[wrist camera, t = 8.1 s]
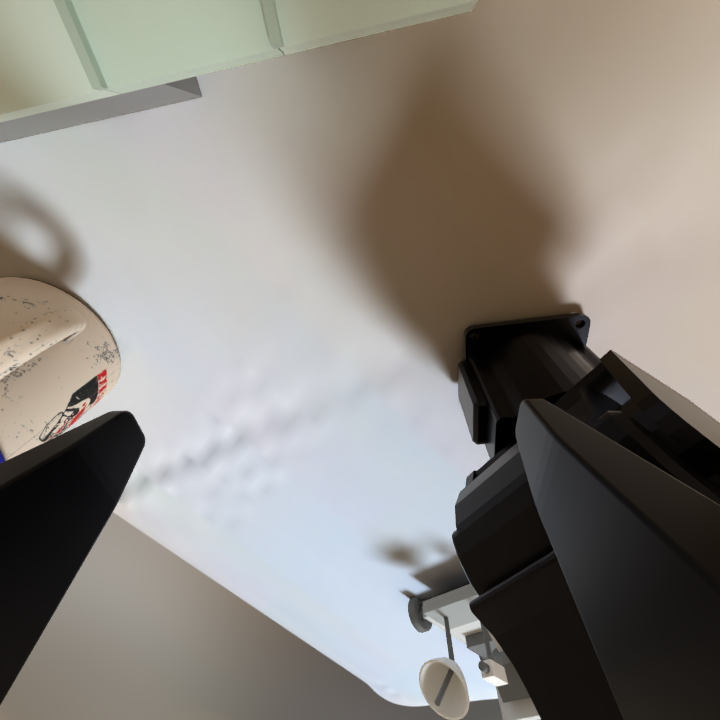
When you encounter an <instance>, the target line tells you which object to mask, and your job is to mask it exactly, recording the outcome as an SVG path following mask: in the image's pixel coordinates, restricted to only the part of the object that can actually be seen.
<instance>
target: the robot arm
mask: <svg viewBox="0 0 720 720" xmlns="http://www.w3.org/2000/svg"><path fill="white" fill-rule="evenodd" d="M579 320H582V321H581V323H580V324H579V325H575V324H576V322H578V321H579ZM589 328H590V319H589V317H587V316H586V315H585V314H583V313H572V314H564V315H556V316H547V317H539V318H531V319H522V320H514V321H506V322H497V323H489V324H481V325H473V326H469V327H468V328H467V329H466V330H465V332H464V361H461V362H460V363H459V364H458V393H459V400H460V403H461V406H462V409H463V412H464V416H465V419H466V422H467V425H468V428H469V431H470V434H471V437H472V441H473V442H475V443H476V444H485V446H486V448H487V451H488V454H489V457H490V460H489V461H488V462H487V463H486V464H484V465H483V466H482V467H481V468H480V469H479V470H478V471H473V472H472V473H471V474H470V475H469V476H468V477H467V479H466V487H465V488H464V489H463V490H462V491H461V492H460V494H459V496H458V499H457V502H456V505H455V514H456V528H457V530H456V531H454V532H453V534H452V539H453V543H454V546H455V550H456V553H457V556H458V559H459V562H460V564H461V566H462V568H463V570H464V572H465V574H466V576H467V578H468V580H469V582H470V584H471V586H472V587H473V589H474V590H475V592H476V593H477V595H478V597H476V598H475V599H473V600H471V601H470V603H469V606H470V610H471V612H472V613H473V614H474V615H475V616H476V618H477V619H478V620H479V621H480V622H481V623H482V624H483V625H484V626H485V628H486V629H487V630H488V631H489V632H490V633H491V634H492V635H493V636H494V638H495V639H496V641H497V642H498V644H499V645H500V646H501V648H502V649H503V651H504V652H505V654H506V655H507V657H508V658H509V660H510V661H511V663H512V664H513V666H514V667H515V669H516V671H517V673H518V675H519V677H520V679H521V680H522V682H523V684H524V686H525V688H526V690H527V692H528V694H529V696H530V698H531V700H532V702H533V704H534V706H535V708H536V710H537V712H538V714H539V716H540V718H541V720H720V423H719V422H718V421H716V420H715V419H714V418H712V417H711V416H710V415H708V414H707V413H706V412H704V411H703V410H702V409H700V408H699V407H698V406H696V405H695V404H694V403H692V402H691V401H690V400H688V399H687V398H685V397H684V396H682V395H681V394H679V393H677V392H676V391H674V390H673V389H671V388H670V387H668V386H667V385H665V384H663V383H662V382H660V381H659V380H657V379H656V378H654V377H653V376H651V375H649V374H648V373H646V372H645V371H643V370H642V369H640V368H639V367H637V366H636V365H634V364H632V363H631V362H629V361H628V360H626V359H625V358H623V357H622V356H620V355H618V354H617V353H615V352H614V351H612V350H610V351H609V352H608V353H606V354H605V355H604V356H603V357H602V358H601V359H600V358H599V357H598V356H596V355H595V354H594V353H593V352H592V351H591V350H590V349H589V348H588V347H587V346H586V343H587V338H588V333H589ZM474 332H475V333H477V335H476V336H475V337H470V335H471V334H472V333H474ZM144 446H145V436H144V434H143V432H142V430H141V428H140V427H139V425H138V423H137V421H136V419H135V417H134V416H133V414H132V413H130V412H128V411H112V412H108V413H106V414H104V415H102V416H100V417H97V418H95V419H93V420H91V421H89V422H87V423H85V424H83V425H81V426H78V427H76V428H74V429H72V430H70V431H68V432H66V433H64V434H62V435H59V436H57V437H55V438H53V439H51V440H49V441H47V442H45V443H43V444H40V445H38V446H36V447H34V448H32V449H30V450H28V451H26V452H24V453H21V454H19V455H17V456H15V457H13V458H11V459H9V460H7V461H5V462H3V463H0V705H1V703H2V701H3V700H4V698H5V696H6V695H7V693H8V691H9V689H10V688H11V686H12V684H13V682H14V681H15V679H16V677H17V676H18V674H19V672H20V670H21V669H22V667H23V665H24V664H25V662H26V660H27V658H28V657H29V655H30V653H31V651H32V650H33V648H34V646H35V645H36V643H37V641H38V640H39V638H40V636H41V634H42V632H43V631H44V629H45V628H46V626H47V624H48V622H49V621H50V619H51V617H52V616H53V614H54V612H55V610H56V609H57V607H58V605H59V603H60V602H61V600H62V598H63V597H64V595H65V593H66V591H67V590H68V588H69V586H70V585H71V583H72V581H73V579H74V578H75V576H76V574H77V573H78V571H79V569H80V567H81V566H82V564H83V562H84V561H85V559H86V557H87V555H88V554H89V552H90V550H91V549H92V547H93V545H94V543H95V542H96V540H97V538H98V537H99V535H100V533H101V531H102V530H103V528H104V526H105V525H106V523H107V521H108V519H109V518H110V516H111V514H112V512H113V511H114V509H115V507H116V505H117V503H118V501H119V499H120V497H121V495H122V493H123V491H124V489H125V486H126V484H127V482H128V480H129V478H130V476H131V474H132V472H133V469H134V467H135V465H136V463H137V461H138V459H139V457H140V454H141V452H142V450H143V448H144Z"/></svg>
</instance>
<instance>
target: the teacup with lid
mask: <svg viewBox="0 0 720 720" xmlns="http://www.w3.org/2000/svg"><path fill="white" fill-rule="evenodd" d="M120 371H121V362H120V356H119V352H118V349H117V346H116V344H115V342H114V340H113V338H112V336H111V334H110V333H109V331H108V330H107V328H106V327H105V326H104V324H103V323H102V322H101V321H100V320H99V318H98V317H97V316H96V315H95V314H94V313H93V312H92V311H90V310H89V309H88V308H87V307H86V306H85V305H83V304H82V303H81V302H79V301H78V300H77V299H75V298H74V297H72V296H70V295H69V294H67V293H65V292H64V291H62V290H60V289H58V288H55V287H53V286H51V285H48V284H46V283H43V282H40V281H36V280H32V279H27V278H19V277H5V278H0V463H3V462H5V461H7V460H9V459H11V458H13V457H15V456H17V455H19V454H21V453H24V452H26V451H28V450H30V449H32V448H34V447H36V446H38V445H40V444H43V443H45V442H47V441H49V440H51V439H53V438H55V437H57V436H59V435H60V434H62V433H63V432H64V431H65V430H66V429H67V428H69V427H70V426H71V425H72V424H73V423H74V422H76V421H77V420H78V419H79V418H80V417H81V416H82V415H84V414H85V413H86V412H87V411H88V410H89V409H91V408H92V407H93V406H94V405H95V404H96V403H97V402H99V401H100V400H101V399H102V398H103V397H104V396H106V395H107V394H108V393H109V392H110V391H111V390H112V389H113V388H114V386H115V385H116V383H117V381H118V379H119V376H120Z"/></svg>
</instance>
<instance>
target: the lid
mask: <svg viewBox="0 0 720 720" xmlns="http://www.w3.org/2000/svg"><path fill="white" fill-rule="evenodd" d="M477 2H478V0H0V122H5V121H9V120H13V119H17V118H22V117H26V116H30V115H34V114H39V113H43V112H47V111H51V110H56V109H60V108H64V107H68V106H72V105H77V104H81V103H85V102H89V101H94V100H98V99H102V98H106V97H111V96H115V95H119V94H121V93H122V94H123V93H128V92H132V91H136V90H140V89H144V88H149V87H153V86H157V85H161V84H166V83H170V82H174V81H178V80H183V79H187V78H191V77H195V76H200V75H204V74H208V73H212V72H216V71H221V70H225V69H229V68H233V67H238V66H242V65H246V64H250V63H255V62H259V61H263V60H267V59H272V58H276V57H280V56H284V53H285V55H288V54H293V53H297V52H301V51H305V50H310V49H314V48H318V47H322V46H327V45H331V44H335V43H339V42H344V41H348V40H352V39H356V38H360V37H365V36H369V35H373V34H377V33H382V32H386V31H390V30H394V29H399V28H403V27H407V26H411V25H416V24H420V23H424V22H428V21H432V20H437V19H441V18H445V17H449V16H454V15H458V14H462V13H466V12H471V11H472V10H473V8H474V7H475V5H476V4H477Z"/></svg>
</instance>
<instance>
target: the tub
mask: <svg viewBox="0 0 720 720" xmlns="http://www.w3.org/2000/svg"><path fill="white" fill-rule="evenodd" d="M199 97H202V94H201V91H200V88H199V85H198V82H197V79H196V76H195V77H191V78H187V79H183V80H178V81H174V82H170V83H166V84H161V85H157V86H153V87H149V88H144V89H140V90H136V91H132V92H128V93H123V94H122V93H121V94H119V95H115V96H111V97H106V98H102V99H98V100H94V101H89V102H85V103H81V104H77V105H72V106H68V107H64V108H60V109H56V110H51V111H47V112H43V113H39V114H34V115H30V116H26V117H22V118H17V119H13V120H9V121H5V122H0V143H1V142H6V141H10V140H15V139H19V138H23V137H28V136H32V135H37V134H41V133H45V132H50V131H54V130H59V129H63V128H67V127H72V126H76V125H81V124H85V123H89V122H94V121H98V120H103V119H107V118H111V117H116V116H120V115H125V114H129V113H133V112H138V111H142V110H147V109H151V108H155V107H160V106H164V105H169V104H173V103H177V102H182V101H186V100H191V99H195V98H199Z"/></svg>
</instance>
